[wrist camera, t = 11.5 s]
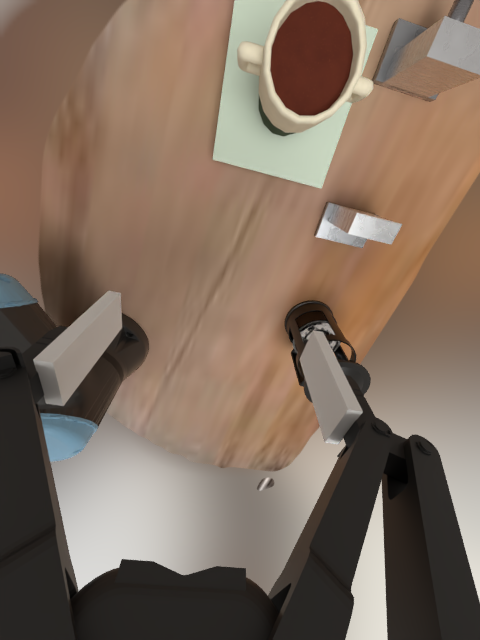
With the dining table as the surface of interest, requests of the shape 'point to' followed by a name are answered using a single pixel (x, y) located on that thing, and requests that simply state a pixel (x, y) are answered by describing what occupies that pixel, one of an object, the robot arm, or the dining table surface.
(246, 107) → the stand
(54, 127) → the dining table surface
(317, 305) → the french press
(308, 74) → the character mug
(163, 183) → the dining table surface
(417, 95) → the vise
